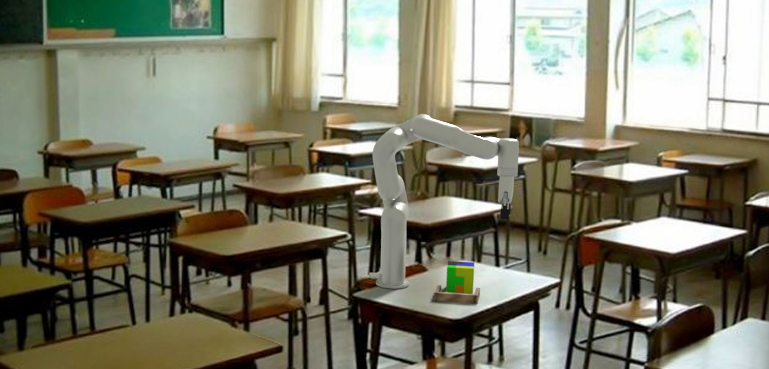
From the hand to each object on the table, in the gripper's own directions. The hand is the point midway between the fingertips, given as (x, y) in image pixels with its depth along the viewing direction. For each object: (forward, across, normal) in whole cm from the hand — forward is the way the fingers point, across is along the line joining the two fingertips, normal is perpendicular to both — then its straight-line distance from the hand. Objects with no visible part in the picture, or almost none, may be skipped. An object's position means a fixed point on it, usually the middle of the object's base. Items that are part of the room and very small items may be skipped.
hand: (505, 216), depth 400 cm
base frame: (+29, +15, -16) cm, 36 cm away
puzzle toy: (+29, +3, -16) cm, 33 cm away
